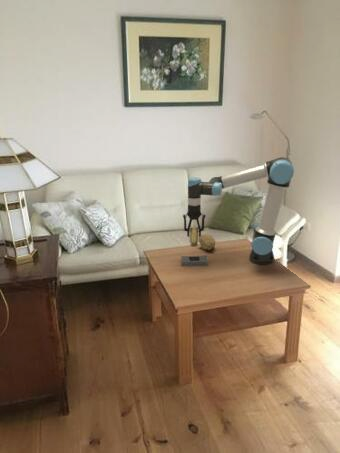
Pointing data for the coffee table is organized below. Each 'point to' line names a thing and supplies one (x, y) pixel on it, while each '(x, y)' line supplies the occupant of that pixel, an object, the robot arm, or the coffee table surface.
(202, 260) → the metal plate with hole
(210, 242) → the faceted tan rock
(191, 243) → the gold peg
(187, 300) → the coffee table surface
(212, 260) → the coffee table surface
